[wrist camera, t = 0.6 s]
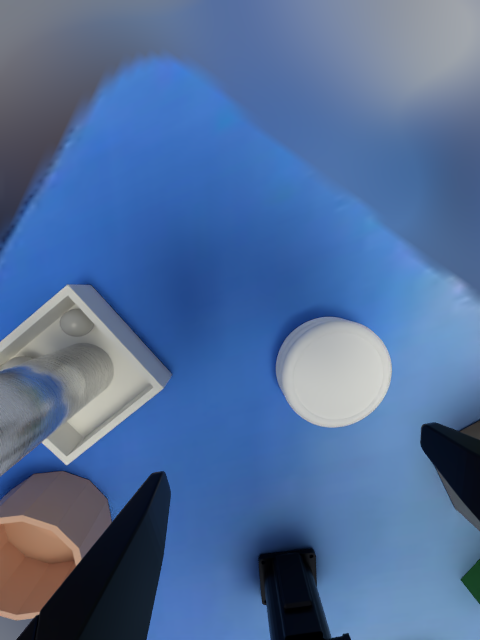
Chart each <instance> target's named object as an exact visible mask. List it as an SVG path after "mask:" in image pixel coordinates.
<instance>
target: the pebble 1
mask: <svg viewBox="0 0 480 640" xmlns="http://www.w3.org/2000/svg"><path fill="white" fill-rule="evenodd" d="M32 359H34V358H31V357H28V356H18V357H14V358H12V359H10V360H8V361H7V362H6V363H5V364H4V365H3V367H2V369H1V371H2V370H4V369H7V368H10V367H13V366H15V365H18V364H21V363H24V362H26V361H29V360H32Z"/></svg>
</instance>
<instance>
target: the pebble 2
mask: <svg viewBox="0 0 480 640" xmlns="http://www.w3.org/2000/svg"><path fill="white" fill-rule="evenodd" d="M60 327H61V329H62V331H63V332H64V333H66V334H67V335H70V336H74V337H80V336H84V335H86V334H88V333H89V332H90V331H91V330H92V329H93V327H94V323H93V322H92V321H91V320H90V319H89V318H88V317H87V316H86V315H85V313H84V312H83V311H82V310H81V309H71V310H69V311H67V312H65V313H64V314H63V315H62V316H61V318H60Z"/></svg>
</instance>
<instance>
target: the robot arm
mask: <svg viewBox="0 0 480 640" xmlns="http://www.w3.org/2000/svg"><path fill="white" fill-rule="evenodd" d="M420 444H421V447H422V449H423V451H424V452H425V454H426V455H427V456H428V458H429V459H430V460H431V462H432V463H433V464H434V466H435V467H436V468H437V470H438V471H439V472H440V473H441V475H442V476H443V477H444V479H445V480H446V481H447V483H448V484H449V485H450V487H451V488H452V489H453V490H454V492H455V493H456V494H457V496H458V497H459V498H460V499H461V501H462V502H463V503H464V504H465V505H466V506H467V508H468V509H469V510H470V511H471V512H472V513H473V514H474V516H475V517H476V518H477V519H478V520H479V521H480V440H479V439H477V438H474V437H471V436H469V435H466V434H464V433H461V432H459V431H456V430H454V429H451V428H449V427H446V426H443V425H441V424H438V423H427V424H423V425H422V427H421V440H420ZM170 499H171V491H170V486H169V483H168V480H167V476H166V473H165V472H164V471H160V472H155V473H152V474H151V475H150V476H149V477H148V478H147V480H146V481H145V482H144V483H143V485H142V486H141V487H140V488H139V489H138V491H137V492H136V493H135V494H134V496H133V497H132V498H131V499H130V501H129V502H128V503H127V504H126V505H125V507H124V508H123V509H122V510H121V512H120V513H119V514H118V515H117V517H116V518H115V519H114V520H113V521H112V523H111V524H110V525H109V526H108V528H107V529H106V530H105V531H104V532H103V534H102V535H101V536H100V537H99V539H98V540H97V541H96V542H95V544H94V545H93V546H92V547H91V548H90V550H89V551H88V552H87V553H86V555H85V556H84V557H83V558H82V560H81V561H80V562H79V563H78V564H77V566H76V567H75V568H74V569H73V571H72V572H71V573H70V574H69V576H68V577H67V578H66V579H65V580H64V582H63V583H62V584H61V585H60V587H59V588H58V589H57V590H56V592H55V593H54V594H53V595H52V596H51V598H50V599H49V600H48V601H47V603H46V604H45V605H44V606H43V608H42V609H41V610H40V613H39V614H38V615H36V616H35V617H34V618H33V620H32V621H31V622H30V624H29V625H28V626H27V627H26V628H25V630H24V631H23V632H22V633H21V634H20V636H19V637H18V638H17V640H146V639H147V634H148V629H149V625H150V620H151V615H152V610H153V605H154V600H155V595H156V591H157V586H158V581H159V576H160V571H161V566H162V561H163V555H164V548H165V540H166V532H167V523H168V515H169V507H170ZM258 561H259V573H260V585H261V597H262V604H263V605H267V613H268V621H269V630H270V638H271V640H351V639H350V636H349V634H348V633H346V634H343V636H340V637H335V638H331V634H330V631H329V627H328V624H327V621H326V617H325V614H324V610H323V607H322V603H321V600H320V597H319V593H318V590H317V578H316V555H315V552H314V550H313V549H303V550H295V551H287V552H279V553H272V554H264V555H260V556H259V558H258Z"/></svg>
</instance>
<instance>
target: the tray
mask: <svg viewBox="0 0 480 640" xmlns="http://www.w3.org/2000/svg"><path fill="white" fill-rule="evenodd" d="M71 309H81V310H82V311H83V312H84V313H85V315H86V316H87V317H88V318H89V319H90V320H91V321H92V322H93V323H94V327H93V329H92V330H91V331H90V332H89V333H88V334H86V335H84V336H80V337H74V336H70V335H67V334H66V333H64V332H63V331H62V329H61V327H60V318H61V316H62V315H63V314H64V313H65V312H67V311H69V310H71ZM76 343H90V344H93V345H96V346H98V347H100V348H101V349H103V350H104V351H105V352H106V353H107V354H108V355H109V357H110V359H111V360H112V363H113V366H114V376H113V380H112V382H111V384H110V385H109V387H108V388H107V389H106V390H104V391H103V392H102V393H101V394H99V395H98V396H97V397H96V398H95V399H93V400H92V401H91V402H90V403H89V404H87V405H86V406H85V407H84V408H82V409H81V410H80V411H79V412H78V413H76V414H75V415H74V416H73V417H72V418H70V419H69V420H68V421H67V422H66V423H64V424H63V425H62V426H61V427H59V428H58V429H57V430H56V431H55V432H53V433H52V434H51V435H50V436H49V437H47V438H46V439H45V440H44V441H42V443H43V444H44V445H45V446H46V447H47V448H48V449H50V450H51V451H52V452H53V453H54V454H55V455H56V456H57V457H58V458H59V459H60V460H61V461H63V462H64V463H65V464H66V465H68V464H69V463H70V462H72V461H73V460H74V459H75V458H77V457H78V456H79V455H80V454H82V453H83V452H84V451H85V450H87V449H88V448H89V447H90V446H92V445H93V444H94V443H95V442H97V441H98V440H99V439H101V438H102V437H103V436H104V435H106V434H107V433H108V432H109V431H111V430H112V429H113V428H114V427H116V426H117V425H118V424H119V423H121V422H122V421H123V420H124V419H126V418H127V417H128V416H129V415H131V414H132V413H133V412H134V411H136V410H137V409H138V408H140V407H141V406H142V405H143V404H145V403H146V402H147V401H148V400H150V399H151V398H152V397H153V396H155V395H156V394H157V393H158V392H160V391H161V390H162V389H163V388H164V387H165V385H166V384H167V382H168V381H169V379H170V378H171V376H172V374H171V373H170V371H169V370H168V369H167V368H166V367H165V366H164V365H163V364H162V363H161V361H160V360H159V359H158V358H157V357H156V356H155V355H154V354H153V353H152V352H151V350H150V349H149V348H148V347H147V346H146V345H145V344H144V343H143V342H142V341H141V339H140V338H139V337H138V336H137V335H136V334H135V333H134V332H133V331H132V330H131V328H130V327H129V326H128V325H127V324H126V323H125V322H124V321H123V320H122V318H121V317H120V316H119V315H118V314H117V313H116V312H115V311H114V310H113V309H112V307H111V306H110V305H109V304H108V303H107V302H106V301H105V300H104V299H103V298H102V296H101V295H100V294H99V293H98V292H97V291H96V290H95V289H94V288H93V287H92V285H67V286H65V287H64V288H63V289H62V290H61V291H60V292H58V293H57V294H56V295H55V296H54V297H52V298H51V299H50V300H49V301H48V302H47V303H45V304H44V305H43V306H42V307H41V308H40V309H38V310H37V311H36V312H35V313H34V314H33V315H31V316H30V317H29V318H28V319H27V320H25V321H24V322H23V323H22V324H21V325H20V326H18V327H17V328H16V329H15V330H14V331H13V332H11V333H10V334H9V335H8V336H7V337H6V338H4V339H3V340H2V341H1V342H0V371H1V369H2V367H3V365H4V364H5V363H6V362H7V361H8V360H10V359H12V358H14V357H18V356H28V357H31V358H34V359H35V358H37V357H40V356H43V355H46V354H48V353H51V352H54V351H57V350H59V349H62V348H65V347H68V346H70V345H73V344H76Z"/></svg>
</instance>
